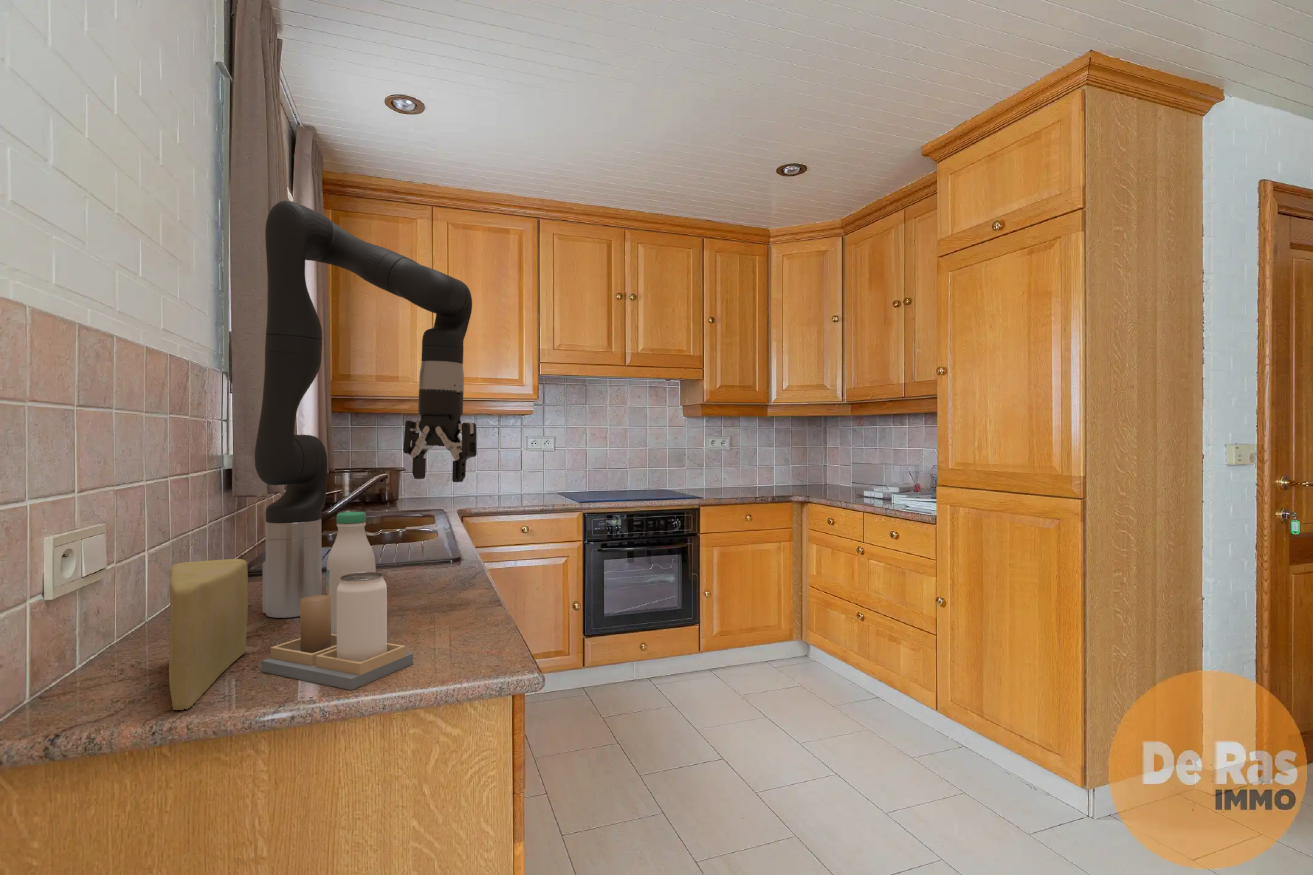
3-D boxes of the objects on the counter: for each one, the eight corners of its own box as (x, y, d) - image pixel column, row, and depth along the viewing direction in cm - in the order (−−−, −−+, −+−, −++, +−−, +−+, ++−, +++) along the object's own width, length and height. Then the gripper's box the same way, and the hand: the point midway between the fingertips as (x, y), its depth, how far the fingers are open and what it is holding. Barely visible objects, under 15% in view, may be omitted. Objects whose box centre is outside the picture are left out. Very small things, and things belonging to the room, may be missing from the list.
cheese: (228, 705, 83) (228, 584, 83) (130, 720, 79) (130, 592, 79) (248, 652, 103) (248, 555, 103) (171, 662, 99) (171, 560, 99)
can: (367, 670, 91) (367, 581, 91) (326, 666, 92) (325, 579, 92) (396, 655, 97) (396, 572, 97) (357, 651, 98) (357, 570, 98)
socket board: (261, 671, 95) (261, 604, 94) (327, 648, 105) (327, 587, 105) (351, 690, 88) (351, 617, 88) (413, 663, 98) (413, 598, 98)
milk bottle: (385, 625, 117) (385, 511, 117) (352, 638, 110) (352, 516, 110) (350, 621, 120) (350, 509, 120) (315, 633, 112) (315, 514, 112)
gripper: (394, 386, 118) (391, 479, 118) (460, 387, 112) (456, 484, 113) (424, 389, 125) (421, 477, 125) (487, 390, 119) (484, 481, 119)
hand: (438, 480), depth 119 cm, fingers open, 8 cm apart
